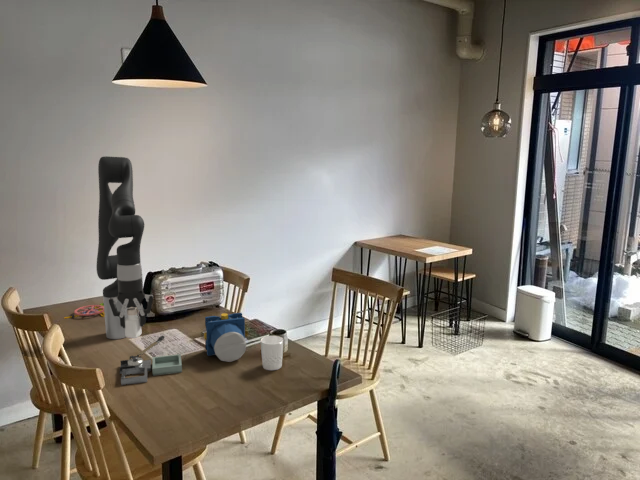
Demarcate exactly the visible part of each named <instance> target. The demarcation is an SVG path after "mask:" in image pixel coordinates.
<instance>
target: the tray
mask: <svg viewBox="0 0 640 480" xmlns="http://www.w3.org/2000/svg"><path fill="white" fill-rule="evenodd" d="M151 371H152V376H153V377H154V376H163V375H169V374H172V375H173V374H179V373H183V364H182V355H181V353H180V354H179V353H177V354H169V355H159V356H153V357H152V361H151Z"/></svg>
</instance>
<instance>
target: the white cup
mask: <svg viewBox="0 0 640 480" xmlns="http://www.w3.org/2000/svg"><path fill="white" fill-rule="evenodd" d="M260 350H261V351H260V352H261V362H262V368H263V369H264V370H266V371H277V370H279V369H281V368H282V367H283V355H284V338H283V337H282V336H279V335H266V336H263V337H261V339H260Z"/></svg>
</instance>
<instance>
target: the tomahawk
mask: <svg viewBox="0 0 640 480" xmlns="http://www.w3.org/2000/svg"><path fill="white" fill-rule="evenodd" d="M163 339H165V335H161V336H159V337H158V339H157V340H156V341H153V342H152V343H151V344H150V345H148V346H147V347H145V349H143V350H141V352H139V353H138V354H137V355H130V356H129V359H131V358H133V357H138V356H139V355H141V354H142V355H144V354H145V353H147V352H148V351H149V350H151V349H152V348H153V346H154V347H155V346H156V345H158V344H159V343H160V342H162V340H163ZM150 348H151V349H150ZM147 350H148V351H147ZM146 351H147V352H146ZM144 352H145V353H144ZM143 353H144V354H143ZM138 358H139V357H138Z"/></svg>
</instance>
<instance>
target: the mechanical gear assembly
mask: <svg viewBox="0 0 640 480" xmlns="http://www.w3.org/2000/svg"><path fill="white" fill-rule="evenodd" d="M79 310H81V311H79ZM73 312H74V313H72V314H71V315H70V316H65V317H63V318H64V319H71V318H72V319H74V318H77V317H84V316H95V315H100V317H102V318H105V313H104V302H102V303H101V302H100V303H99V304H90V305H84V306H79V307H78V308H76V309H74V311H73Z"/></svg>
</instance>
